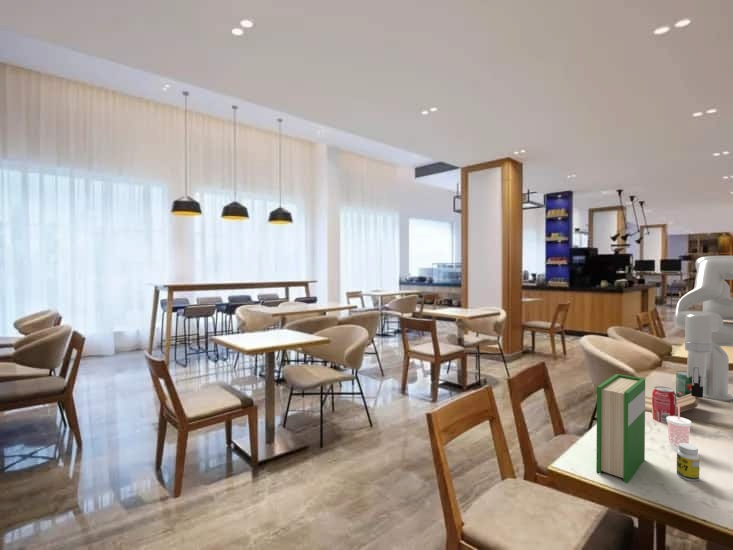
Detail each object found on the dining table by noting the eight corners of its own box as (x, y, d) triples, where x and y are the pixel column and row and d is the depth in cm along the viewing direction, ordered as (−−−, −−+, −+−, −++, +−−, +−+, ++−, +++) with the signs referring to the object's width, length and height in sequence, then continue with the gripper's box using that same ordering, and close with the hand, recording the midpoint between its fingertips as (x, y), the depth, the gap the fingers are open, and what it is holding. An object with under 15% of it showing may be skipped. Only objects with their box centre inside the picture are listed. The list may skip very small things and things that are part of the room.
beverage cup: (684, 454, 118) (685, 408, 118) (661, 446, 124) (662, 402, 123) (695, 450, 121) (695, 405, 121) (672, 442, 127) (672, 399, 126)
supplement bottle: (672, 472, 109) (672, 442, 108) (687, 471, 109) (688, 441, 109) (687, 482, 104) (688, 450, 104) (704, 481, 104) (704, 449, 104)
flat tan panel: (644, 398, 166) (644, 395, 166) (672, 404, 160) (672, 400, 160) (635, 410, 154) (635, 406, 153) (665, 417, 147) (665, 413, 147)
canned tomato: (697, 404, 160) (697, 377, 159) (673, 398, 166) (673, 373, 166) (702, 399, 165) (702, 373, 164) (678, 394, 171) (679, 369, 171)
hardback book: (627, 483, 104) (628, 392, 103) (596, 472, 109) (596, 386, 108) (644, 459, 116) (645, 378, 115) (615, 451, 121) (616, 373, 120)
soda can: (667, 418, 146) (668, 386, 146) (681, 425, 139) (681, 392, 139) (647, 417, 147) (647, 385, 146) (659, 425, 140) (660, 391, 139)
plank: (675, 403, 159) (672, 400, 160) (701, 394, 153) (698, 390, 154) (668, 416, 146) (665, 412, 147) (697, 406, 140) (694, 402, 141)
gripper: (687, 343, 154) (686, 389, 154) (682, 348, 143) (681, 399, 143) (712, 345, 149) (712, 394, 149) (709, 351, 138) (708, 404, 138)
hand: (697, 396), depth 146 cm, fingers closed
